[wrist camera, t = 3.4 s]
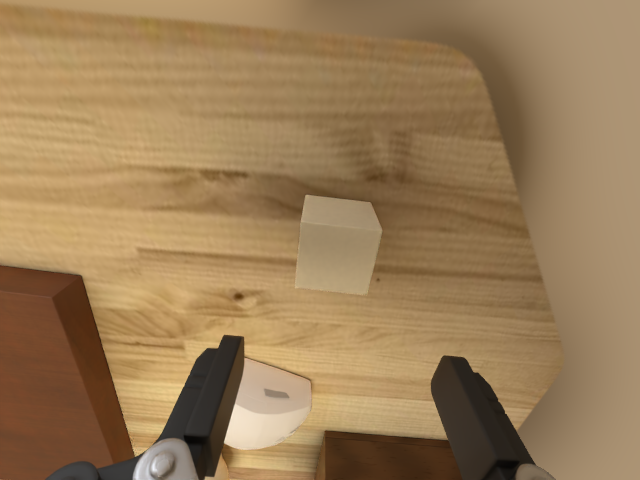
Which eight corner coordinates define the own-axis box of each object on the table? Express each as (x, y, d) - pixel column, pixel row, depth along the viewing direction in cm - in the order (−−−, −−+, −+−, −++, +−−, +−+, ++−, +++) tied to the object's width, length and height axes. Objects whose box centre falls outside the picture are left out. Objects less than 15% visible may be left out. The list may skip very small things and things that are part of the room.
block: (305, 194, 21) (300, 221, 17) (370, 202, 21) (383, 230, 17) (300, 251, 24) (294, 288, 19) (359, 257, 24) (367, 295, 19)
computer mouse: (296, 411, 34) (291, 474, 28) (189, 379, 31) (160, 441, 26) (320, 380, 31) (319, 443, 26) (205, 342, 29) (176, 402, 23)
